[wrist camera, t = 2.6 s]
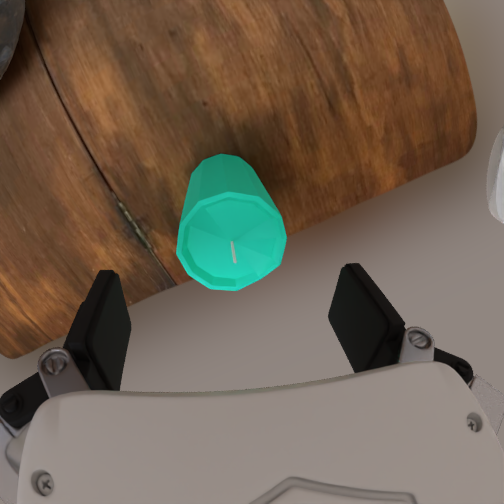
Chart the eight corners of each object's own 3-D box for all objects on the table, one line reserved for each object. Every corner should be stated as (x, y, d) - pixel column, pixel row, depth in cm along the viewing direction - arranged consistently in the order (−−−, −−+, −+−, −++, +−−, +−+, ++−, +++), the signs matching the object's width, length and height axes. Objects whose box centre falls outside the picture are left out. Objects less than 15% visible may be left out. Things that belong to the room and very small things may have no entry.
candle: (193, 222, 25) (184, 313, 15) (185, 157, 22) (162, 210, 12) (259, 215, 26) (293, 301, 15) (256, 150, 23) (298, 197, 12)
